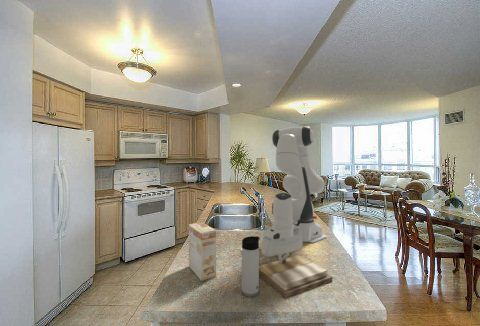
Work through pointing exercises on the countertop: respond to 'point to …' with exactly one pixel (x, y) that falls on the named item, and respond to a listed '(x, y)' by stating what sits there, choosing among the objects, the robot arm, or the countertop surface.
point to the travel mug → (250, 266)
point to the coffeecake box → (202, 250)
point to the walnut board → (298, 288)
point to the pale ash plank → (298, 275)
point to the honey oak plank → (283, 265)
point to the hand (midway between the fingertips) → (282, 262)
